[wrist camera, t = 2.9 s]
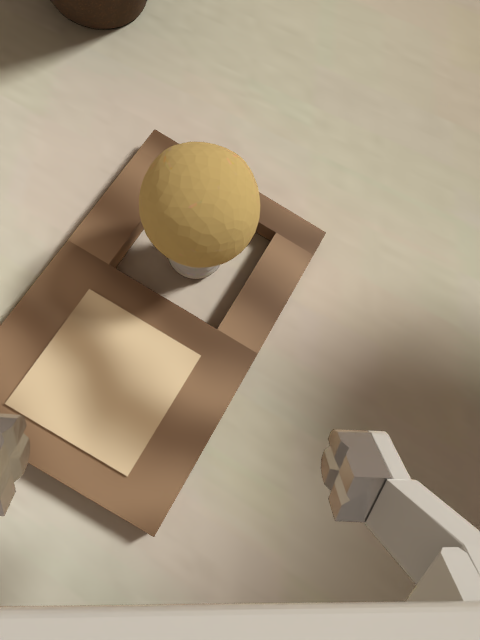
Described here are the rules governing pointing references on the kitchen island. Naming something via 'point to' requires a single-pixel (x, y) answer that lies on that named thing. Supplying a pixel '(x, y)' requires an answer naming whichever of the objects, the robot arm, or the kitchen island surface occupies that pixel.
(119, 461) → the socket board
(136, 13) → the plant pot
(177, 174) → the light bulb
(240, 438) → the kitchen island surface
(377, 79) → the kitchen island surface
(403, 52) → the kitchen island surface
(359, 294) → the kitchen island surface
